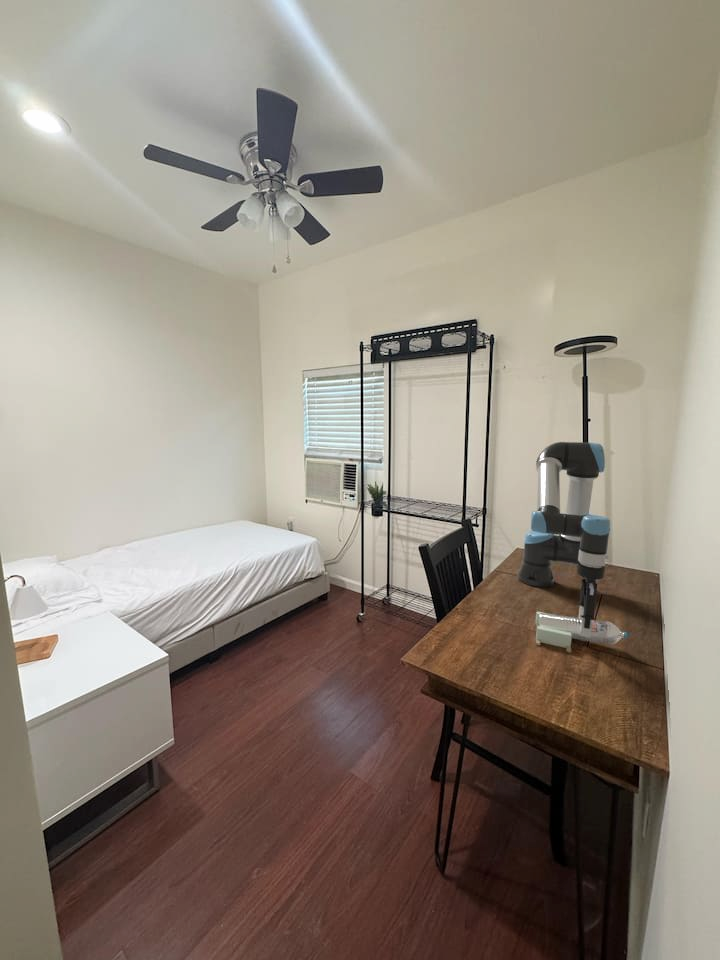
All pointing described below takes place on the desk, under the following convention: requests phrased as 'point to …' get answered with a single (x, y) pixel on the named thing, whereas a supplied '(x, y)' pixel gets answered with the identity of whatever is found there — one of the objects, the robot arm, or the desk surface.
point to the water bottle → (599, 629)
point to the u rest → (552, 636)
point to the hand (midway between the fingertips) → (583, 630)
